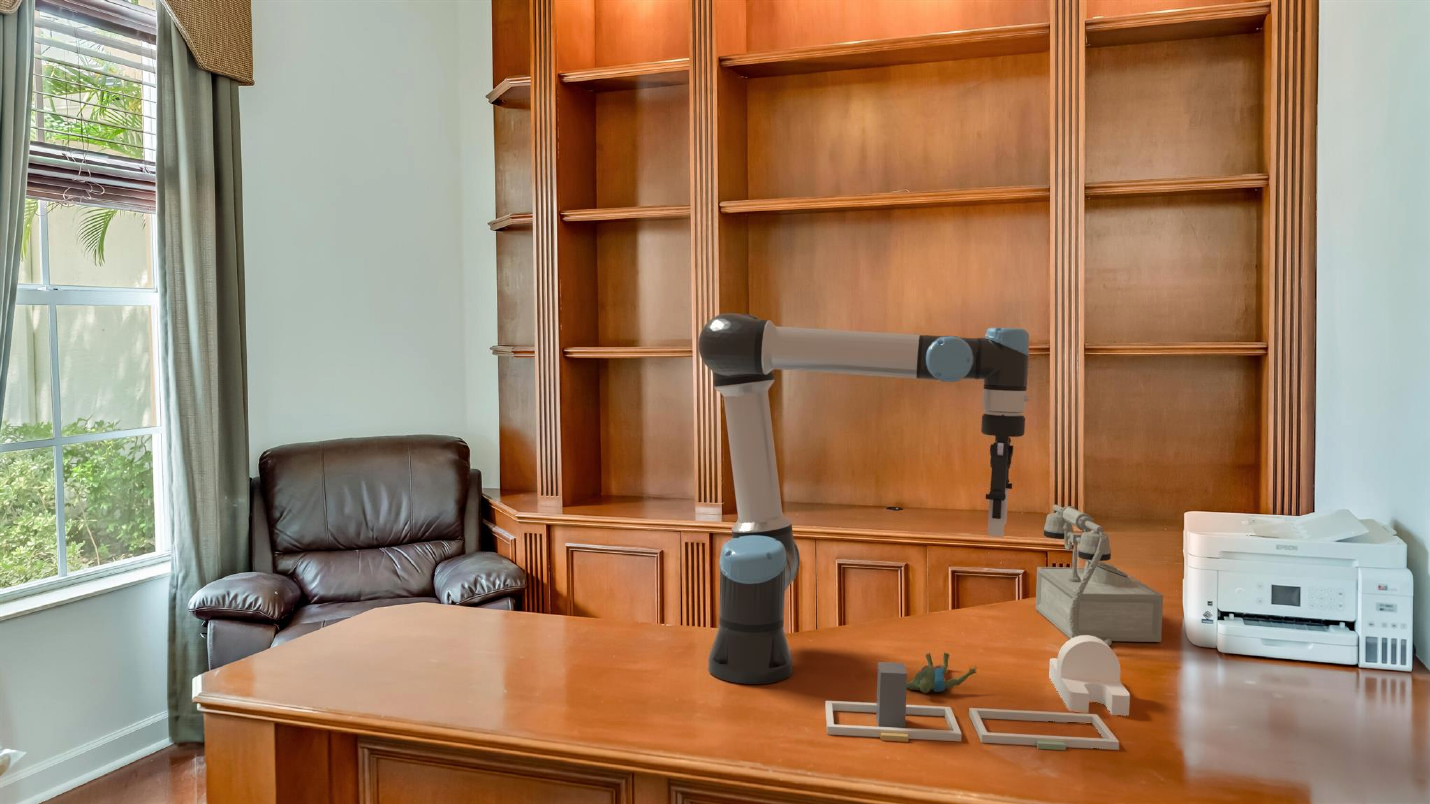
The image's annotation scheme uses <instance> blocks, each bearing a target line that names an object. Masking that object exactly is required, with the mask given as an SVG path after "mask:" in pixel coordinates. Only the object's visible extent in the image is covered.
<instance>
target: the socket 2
mask: <svg viewBox="0 0 1430 804" xmlns="http://www.w3.org/2000/svg"><path fill="white" fill-rule="evenodd" d="M968 709H969V710H968V715H969V719H970V721H971V722H972V725H973V726H974V729H975V731H976V734H977V736H978V738H979V740H980V743H982V744H983V743H985V744H1000V745H1002V744H1003V745H1004V744H1005V745H1021V746H1022V745H1023V746H1024V745H1025V746H1036V748H1037V749H1038V750H1053V751H1054V750H1057V751H1066V749H1067V748H1079V749H1093V748H1097V749H1098V748H1099V750H1114V751H1116V750H1117V751H1119V750H1120V741H1119V740H1118V739H1117V737H1116V736H1115V735H1114V734H1113V732H1112V730H1110V729H1109V727H1108V726H1107V725H1106V724H1105V722H1104V721H1103V720H1102V718H1101V717H1100V716H1099V714H1098V713H1097V714H1096V713H1075V712H1058V711H1057V712H1056V711H1041V710H1040V711H1039V710H1038V711H1036V710H1017V709H999V708H997V709H996V708H981V707H980V708H977V707H976V708H975V707H969V708H968ZM982 719H991V720H993V719H994V720H1012V721H1031V722H1032V721H1033V722H1048V721H1053V722H1054V721H1055V722H1054V723H1067V722H1090V723H1093V724H1092V726H1093V725H1094V726H1095V727H1096V728H1095V727H1094V726H1093V727H1094V728H1095V730H1096V729H1097V730H1098V731H1097V730H1096V731H1097V732H1098V733H1099V735H1100V734H1101V735H1100V736H1101V737H1102V738H1100V737H1081V736H1079V737H1078V736H1063V735H1060V736H1059V735H1041V734H1039V735H1038V734H1027V733H1026V734H1023V733H1007V732H1006V733H1004V732H1003V733H1002V732H988V731H987V729H986V727H985V724H984V723H983V721H982ZM1053 722H1052V723H1053Z"/></svg>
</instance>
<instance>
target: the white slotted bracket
mask: <svg viewBox="0 0 1430 804" xmlns="http://www.w3.org/2000/svg"><path fill="white" fill-rule="evenodd" d="M1048 677H1049V678H1048V679H1049V680H1050V679H1051V680H1050V682H1051V681H1052V682H1051V684H1052V683H1053V684H1054V685H1053V684H1052V685H1053V687H1054V686H1055V687H1054V688H1056V689H1055V690H1056V692H1057V691H1058V692H1057V693H1059V694H1058V695H1060V696H1059V697H1060V699H1061V698H1062V699H1063V701H1064V702H1063V701H1062V702H1063V704H1064V703H1065V704H1066V706H1067V707H1066V706H1065V707H1066V709H1067V708H1068V709H1069V710H1071V711H1079V712H1088V713H1089V707H1090V702H1089V701H1094V702H1099V703H1101V704H1100V705H1102V704H1104V705H1105V706H1106V707H1107V708H1106V707H1105V706H1104V705H1103V706H1104V707H1105V708H1106V709H1107V711H1108V710H1109V711H1110V712H1109V711H1108V712H1109V714H1110V713H1111V714H1110V715H1111V716H1117V715H1121V716H1120V717H1127V716H1129V715H1130V701H1131V694H1130V692H1129V691H1128V690H1127V688H1126V687H1125V686H1124V684H1122V682H1121V663H1120V660H1119V658H1118V656H1117V655H1116V653H1115V651H1114V650H1113V649H1112V648H1111V647H1110V645H1109V646H1108V645H1107V644H1106V643H1105V642H1104V641H1103V640H1101V639H1099V638H1097V637H1095V636H1090V635H1080V636H1077V637H1074V638H1072V639H1070V638H1069V640H1067V641H1066V642H1065V643H1064V644H1063V645H1062V646H1061V648H1060V650H1059V652H1058V653H1057V658H1056V657H1055V658H1054V657H1053V658H1052V657H1051V658H1050V659H1049V674H1048ZM1062 699H1061V700H1062ZM1065 704H1064V705H1065ZM1068 709H1067V710H1068ZM1069 710H1068V711H1069ZM1071 711H1070V712H1071ZM1122 715H1123V716H1122ZM1126 715H1127V716H1126Z"/></svg>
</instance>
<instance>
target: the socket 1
mask: <svg viewBox="0 0 1430 804" xmlns="http://www.w3.org/2000/svg"><path fill="white" fill-rule="evenodd" d="M824 702H825V704H824V705H825V707H824V709H825V719H826V720H825V723H826V735H835V736H848V737H849V736H851V737H852V736H853V737H854V736H855V737H870V738H871V737H873V738H880V740H881V741H887V742H888V741H889V742H909V739H910V740H925V741H928V740H929V741H945V742H947V741H948V742H962V732H961V729H960V727H959V725H958V723H957V722H958V721H957V719H956V718H955V715H954V712H953V710H952V707H951V706H941V705H940V706H937V705H920V704H918V705H917V704H906V715H911V716H912V715H914V716H915V715H917V716H934V717H944V718H945V721H946V723H947V726H948V728H949V729H948V730H947V729H946V730H945V729H928V728H927V729H926V728H911V727H907V728H906V727H905V728H892V727H878V726H870V725H869V726H867V725H855V724H854V725H850V724H835V722H834V721H835V720H834V711H836V712H837V711H838V712H856V713H877V702H861V701H844V700H843V701H838V700H837V701H836V700H825V701H824Z"/></svg>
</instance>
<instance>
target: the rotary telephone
mask: <svg viewBox="0 0 1430 804" xmlns="http://www.w3.org/2000/svg"><path fill="white" fill-rule="evenodd" d="M1052 510H1053V511H1055V513H1048V514H1047V516H1046V518H1045V519H1046V520H1045V523H1044V527H1043V537H1046V538H1049V539H1055V540H1064V548H1065V550H1066V551H1069V552H1070V551H1071V550H1072V567H1063V566H1062V567H1059V566H1058V567H1057V566H1036V567H1037V568H1036V587H1035V589H1036V590H1035V593H1036V594H1035V610H1036V611H1037V612H1039V613H1040V614H1041V615H1042V616H1043V617H1044V618H1046V619H1047V620H1048V621H1049V622H1050V623H1051V624H1053V626H1055V627H1056V628H1057V629H1058V630H1059V631H1060V632H1061V633H1063V634H1064V635H1065V636H1066V637H1067V638H1068V639H1069V640H1070V639H1072V638H1074V637H1077V636H1080V635H1090V636H1095V637H1097V638H1099V639H1101V640H1103V641H1104V642H1105V643H1106V644H1107V645H1108V646H1109V647H1110V646H1111V645H1112V642H1136V643H1137V642H1138V643H1139V642H1142V643H1145V642H1147V643H1151V642H1152V643H1153V642H1154V643H1161V642H1162V632H1163V630H1162V627H1163V610H1164V609H1163V607H1164V605H1163V604H1164V595H1163V594H1162V593H1160V592H1159V591H1157V590H1155V589H1153V588H1152V587H1150V586H1148V585H1147V584H1145V583H1143V582H1141V581H1140V580H1138V579H1136V578H1135V577H1133V576H1132V575H1130V574H1128V573H1126V572H1124V571H1122V570H1121V569H1119V568H1118V567H1115V566H1114V564H1111V563H1106V562H1108V561H1110V560H1111V557H1112V550H1111V546H1110V538H1109V535H1108V534H1107V533H1104V527H1102V526H1101V525H1099V524H1096V523H1095V522H1094V521H1095V519H1094V518H1093V517H1092V516H1091V515H1090V514H1088V513H1085V512H1082V511H1079V510H1078V509H1077V508H1075V507H1074V506H1071V505H1066V506H1063V507H1062V506H1061V505H1058V504H1054V505H1052ZM1073 526H1074V527H1076V528H1077V529H1078V530H1080V531H1083V532H1082V534H1080V533H1077V532H1076V533H1075V532H1074V527H1073ZM1078 558H1079V559H1082V560H1085V563H1084V567H1078ZM1105 561H1106V562H1105Z"/></svg>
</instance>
